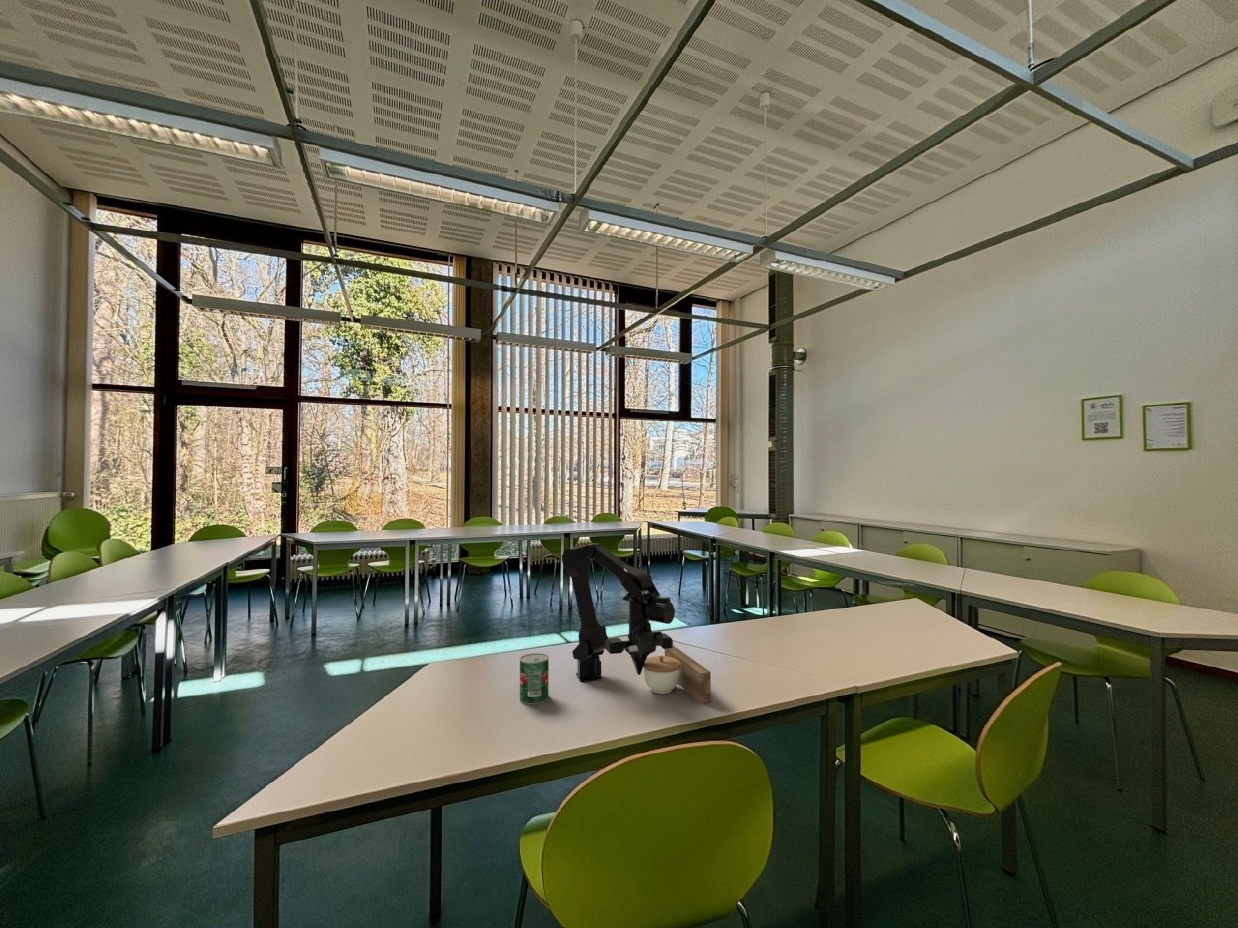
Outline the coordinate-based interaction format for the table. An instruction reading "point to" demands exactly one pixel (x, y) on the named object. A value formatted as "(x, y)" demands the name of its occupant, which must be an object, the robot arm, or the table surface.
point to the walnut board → (692, 676)
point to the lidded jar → (661, 673)
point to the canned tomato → (534, 678)
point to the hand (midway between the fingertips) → (638, 674)
